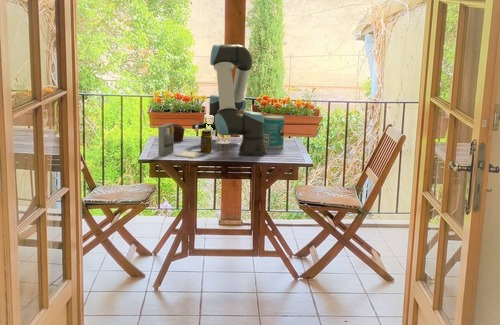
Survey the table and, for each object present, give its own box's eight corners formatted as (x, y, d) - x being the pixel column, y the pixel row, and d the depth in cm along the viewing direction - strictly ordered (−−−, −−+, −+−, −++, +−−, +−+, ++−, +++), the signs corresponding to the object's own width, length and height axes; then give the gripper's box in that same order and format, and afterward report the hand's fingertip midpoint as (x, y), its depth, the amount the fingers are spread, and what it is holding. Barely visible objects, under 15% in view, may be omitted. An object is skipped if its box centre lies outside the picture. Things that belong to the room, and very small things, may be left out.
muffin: (162, 139, 435) (162, 123, 433) (178, 138, 442) (178, 122, 440) (172, 142, 426) (172, 126, 424) (188, 141, 432) (188, 124, 430)
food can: (286, 148, 419) (287, 117, 415) (267, 149, 415) (268, 118, 411) (278, 144, 430) (279, 114, 426) (259, 145, 426) (260, 115, 422)
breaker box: (175, 152, 398) (175, 123, 395) (165, 156, 387) (165, 126, 384) (168, 151, 399) (168, 123, 396) (158, 155, 388) (158, 126, 385)
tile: (202, 154, 395) (202, 153, 395) (194, 157, 385) (194, 156, 385) (184, 152, 399) (184, 151, 399) (175, 155, 389) (175, 154, 389)
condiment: (214, 152, 403) (215, 130, 400) (205, 154, 396) (205, 132, 394) (204, 150, 407) (204, 129, 405) (194, 152, 400) (195, 131, 398)
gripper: (233, 130, 430) (229, 137, 409) (192, 128, 432) (185, 135, 411) (233, 118, 428) (229, 124, 408) (192, 116, 430) (186, 122, 410)
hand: (207, 129), depth 409 cm, fingers open, 13 cm apart
